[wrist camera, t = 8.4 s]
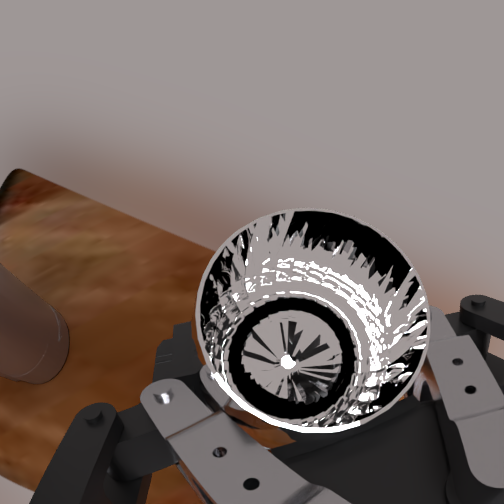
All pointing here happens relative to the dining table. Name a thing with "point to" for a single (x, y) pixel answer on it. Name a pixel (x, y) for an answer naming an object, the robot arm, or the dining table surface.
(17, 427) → the dining table surface
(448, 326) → the robot arm
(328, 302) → the wineglass
